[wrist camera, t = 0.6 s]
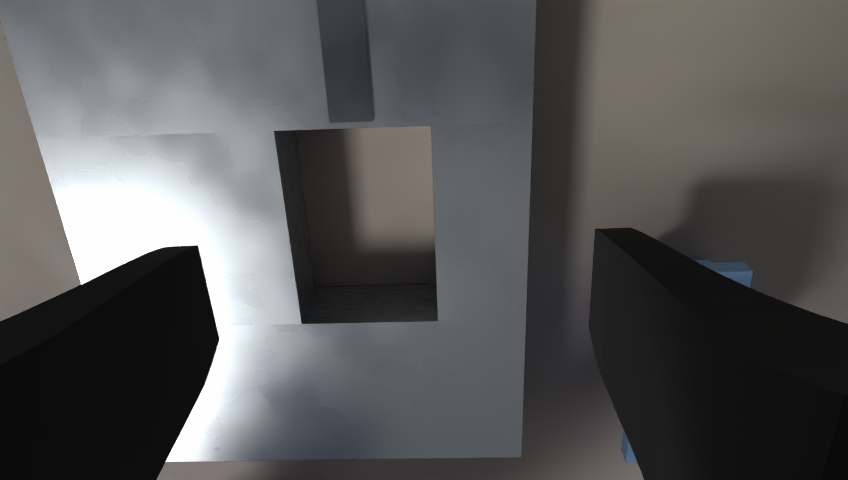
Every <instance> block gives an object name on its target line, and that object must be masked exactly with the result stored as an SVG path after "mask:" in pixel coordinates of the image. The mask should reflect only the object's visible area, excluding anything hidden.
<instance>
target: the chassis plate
mask: <svg viewBox="0 0 848 480" xmlns="http://www.w3.org/2000/svg"><path fill="white" fill-rule="evenodd" d="M536 1H537V0H0V21H1V24H2V27H3V31H4V34H5V37H6V40H7V44H8V47H9V50H10V53H11V57H12V60H13V63H14V66H15V70H16V73H17V76H18V79H19V82H20V86H21V89H22V92H23V95H24V99H25V102H26V105H27V108H28V112H29V115H30V118H31V121H32V125H33V128H34V131H35V134H36V138H37V141H38V144H39V147H40V151H41V154H42V157H43V160H44V164H45V167H46V170H47V173H48V177H49V180H50V183H51V186H52V190H53V193H54V196H55V199H56V202H57V206H58V209H59V212H60V215H61V219H62V222H63V225H64V228H65V232H66V235H67V238H68V241H69V245H70V248H71V251H72V254H73V258H74V261H75V264H76V267H77V271H78V274H79V277H80V280H81V284H83V283H85V282H87V281H89V280H91V279H93V278H95V277H97V276H99V275H101V274H104V273H106V272H108V271H110V270H112V269H114V268H116V267H118V266H120V265H122V264H124V263H126V262H128V261H130V260H132V259H134V258H137V257H139V256H141V255H143V254H146V253H148V252H151V251H153V250H156V249H160V248H163V247H170V246H194V245H198V247H199V252H200V256H201V261H202V265H203V269H204V274H205V278H206V282H207V287H208V291H209V295H210V300H211V304H212V309H213V313H214V317H215V322H216V326H217V330H218V335H219V343H218V346H217V349H216V353H215V356H214V359H213V362H212V365H211V368H210V371H209V374H208V377H207V380H206V383H205V385H204V387H203V389H202V391H201V393H200V395H199V397H198V399H197V401H196V403H195V405H194V407H193V409H192V411H191V413H190V415H189V417H188V419H187V421H186V423H185V425H184V427H183V429H182V431H181V433H180V435H179V437H178V439H177V441H176V442H175V444H174V446H173V448H172V450H171V452H170V454H169V456H168V458H167V460H166V462H177V461H259V460H341V459H423V458H504V457H521V454H522V424H523V394H524V364H525V333H526V303H527V273H528V243H529V213H530V182H531V152H532V122H533V92H534V62H535V31H536ZM407 126H431V142H432V170H433V197H434V225H435V253H436V280H437V284H426V285H382V286H339V287H315V285H314V277H313V269H312V262H311V254H310V246H309V239H308V231H307V223H306V215H305V208H304V200H303V192H302V185H301V177H300V169H299V162H298V154H297V146H296V139H295V131H294V130H315V129H346V128H377V127H407Z"/></svg>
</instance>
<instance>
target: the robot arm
mask: <svg viewBox="0 0 848 480" xmlns="http://www.w3.org/2000/svg"><path fill="white" fill-rule="evenodd" d="M589 329H590V333H591V337H592V342H593V346H594V350H595V354H596V358H597V362H598V366H599V369H600V373H601V375H602V378H603V380H604V383H605V385H606V388H607V390H608V393H609V395H610V398H611V400H612V402H613V405H614V407H615V410H616V412H617V415H618V417H619V419H620V422H621V424H622V427H623V429H624V431H625V434H626V436H627V439H628V441H629V443H630V446H631V448H632V451H633V453H634V455H635V458H636V460H637V463H638V465H639V467H640V470H641V472H642V475H643V478H644V480H848V324H847V323H843V322H840V321H837V320H834V319H831V318H827V317H824V316H821V315H818V314H815V313H813V312H810V311H807V310H804V309H802V308H799V307H796V306H794V305H791V304H788V303H785V302H783V301H780V300H777V299H775V298H772V297H770V296H768V295H765V294H763V293H760V292H758V291H756V290H754V289H751V288H749V287H747V286H745V285H743V284H741V283H738V282H736V281H734V280H732V279H730V278H728V277H726V276H724V275H722V274H720V273H718V272H715V271H713V270H711V269H710V268H708V267H706V266H704V265H702V264H700V263H698V262H696V261H694V260H692V259H691V258H689V257H687V256H685V255H683V254H681V253H679V252H678V251H676V250H674V249H672V248H670V247H669V246H667V245H665V244H663V243H661V242H659V241H658V240H656V239H654V238H652V237H650V236H648V235H646V234H644V233H642V232H640V231H638V230H635V229H632V228H610V229H595V239H594V255H593V271H592V287H591V302H590V318H589ZM218 343H219V335H218V330H217V326H216V322H215V317H214V313H213V309H212V304H211V300H210V295H209V291H208V287H207V282H206V278H205V274H204V269H203V265H202V261H201V256H200V252H199V247H198V245H194V246H170V247H163V248H160V249H156V250H153V251H151V252H148V253H146V254H143V255H141V256H139V257H137V258H134V259H132V260H130V261H128V262H126V263H124V264H122V265H120V266H118V267H116V268H114V269H112V270H110V271H108V272H106V273H104V274H101V275H99V276H97V277H95V278H93V279H91V280H89V281H87V282H85V283H83V284H81V285H79V286H77V287H75V288H73V289H71V290H69V291H67V292H65V293H62V294H60V295H58V296H56V297H54V298H52V299H49V300H47V301H45V302H43V303H41V304H39V305H36V306H34V307H32V308H30V309H28V310H26V311H23V312H21V313H19V314H17V315H14V316H12V317H10V318H7V319H5V320H3V321H0V480H156V479H157V477H158V475H159V473H160V471H161V470H162V468H163V466H164V464H165V462H166V460H167V458H168V456H169V454H170V452H171V450H172V448H173V446H174V444H175V442H176V441H177V439H178V437H179V435H180V433H181V431H182V429H183V427H184V425H185V423H186V421H187V419H188V417H189V415H190V413H191V411H192V409H193V407H194V405H195V403H196V401H197V399H198V397H199V395H200V393H201V391H202V389H203V387H204V385H205V383H206V380H207V377H208V374H209V371H210V368H211V365H212V362H213V359H214V356H215V353H216V349H217V346H218Z"/></svg>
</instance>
